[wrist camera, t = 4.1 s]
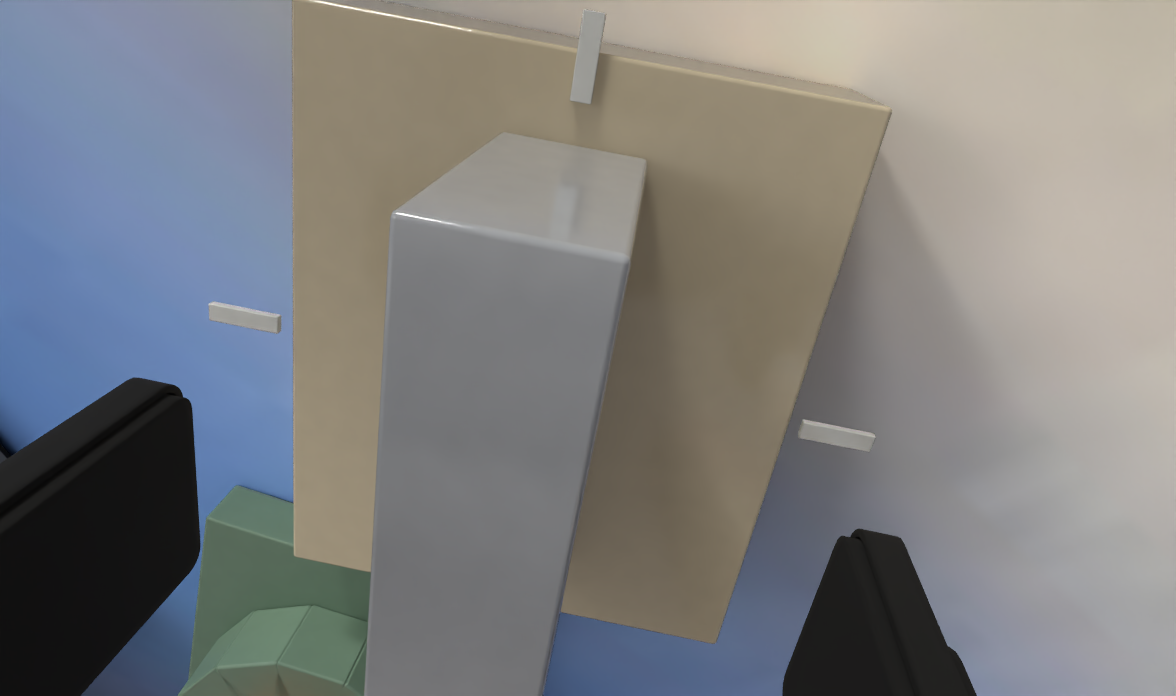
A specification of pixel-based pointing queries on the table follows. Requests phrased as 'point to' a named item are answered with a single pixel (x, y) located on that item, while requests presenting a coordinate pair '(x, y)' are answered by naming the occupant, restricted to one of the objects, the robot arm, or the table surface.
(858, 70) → the table surface
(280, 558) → the button box
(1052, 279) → the table surface
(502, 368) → the grey block
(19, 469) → the robot arm
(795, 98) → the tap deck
